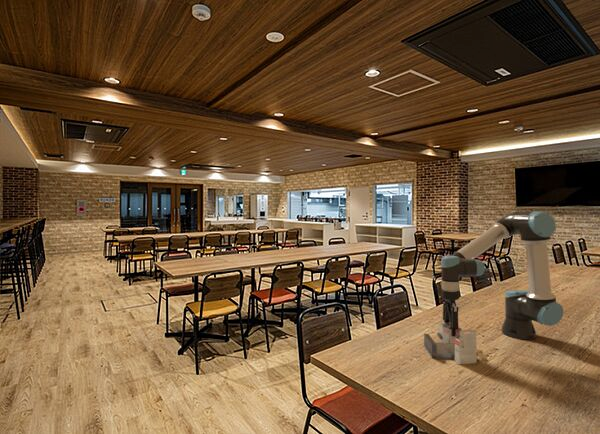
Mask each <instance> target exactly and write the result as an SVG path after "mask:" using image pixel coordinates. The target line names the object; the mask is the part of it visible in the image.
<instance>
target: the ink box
mask: <svg viewBox="0 0 600 434" xmlns="http://www.w3.org/2000/svg"><path fill="white" fill-rule="evenodd" d="M468 332H469V333H468ZM459 335H460V339H455V359H454V362H456V363H457V364H458V365H472V364H477V355H476V350H477V329H464V330H462V329H461V331H459Z"/></svg>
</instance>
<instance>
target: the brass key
mask: <svg viewBox="0 0 600 434" xmlns="http://www.w3.org/2000/svg"><path fill="white" fill-rule="evenodd" d="M476 357H478V358H479V359H481V361H486V362H487V361H488V357H487V355H485V354H484V353H483V351H482V350H480V349H476Z"/></svg>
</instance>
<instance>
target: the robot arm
mask: <svg viewBox="0 0 600 434" xmlns="http://www.w3.org/2000/svg"><path fill="white" fill-rule="evenodd" d="M491 226H492V227H490V228H489V229H487V230H486V231H484V232H482V233H481V234H480V235H479V236H478V237H475V239H473V240H471V241H470V242H468V243H467V244H466V245H464V246H462V247H461V248H460V249H458V250H457V251H456V252H453V254H446V255H444V256H442V257H441V260H440V265H441V282H440V285H441V298H442V320H443V323H449V324H450V328H449V343H455V339H456V329H458V326H459V307H458V306H457V302H456V301H458V300H460V287H461V284H460V281H461V278H460V277H481V276H483V275H484V273H485V271H486V269H485V268H486V266H485V264H484V262H483V261H482V260H480V259H476V258H477V257H479V256H480V255H482V254H483V253H485V252H486V251H487V250H488V249H490V248H491V247H493V246H495V245H496V244H498V243H500V242H501V241H502V240H503V239H505V240H507V239H508V238H510V237H511V236H515V235H520V241H521V242H522V243H524V248H525V259H526V268H527V270H526V271H527V278H528V279H527V281H528V289H529V290H527V289H526V290H525V289H509V290H506V292H505V297H504V299H505V300H504V301H505V303H504V304H505V306H504V307H505V310H504V311H505V318H504V320H503V324H502V326H501V333H502V334H504V335H505V336H507V337H511V338H513V339H519V340H535V339H536V338H537V332H536V329H535V326H534V323H533V322H536V323H539V324H541V325H544V326H549V327H551V326H555V325H557V324H558V323H560V321H562V319H563V317H564V312H565V311H564V307H563V306H562V305H561V304H560V303H559V302H557V296H556V295H555V294H554V293H553V292H552V286H551V285H552V284H551V274H550V263H549V252H548V242H549V241H550V240H551V236H553V235H554V234H555V231H556V228H557V223H556V221H555V219H554V217H553V216H552V215H550V213H548V212H544V211H538V210H537V211H536V210H535V211H532V210H531V211H515V212H511V213H508V214H507V215H505V216H503V217H501V218H500V219H498V220H497V221H495V222H493V224H492V225H491Z"/></svg>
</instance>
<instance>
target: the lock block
mask: <svg viewBox="0 0 600 434" xmlns="http://www.w3.org/2000/svg"><path fill="white" fill-rule="evenodd" d="M449 328H450V324H449V323H444V322H438V332H437V333H436V335H437V337H438V339H439V340H440V343H449ZM461 330H462V327H460V325H458V329H456V339H460V335H459V331H461Z"/></svg>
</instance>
